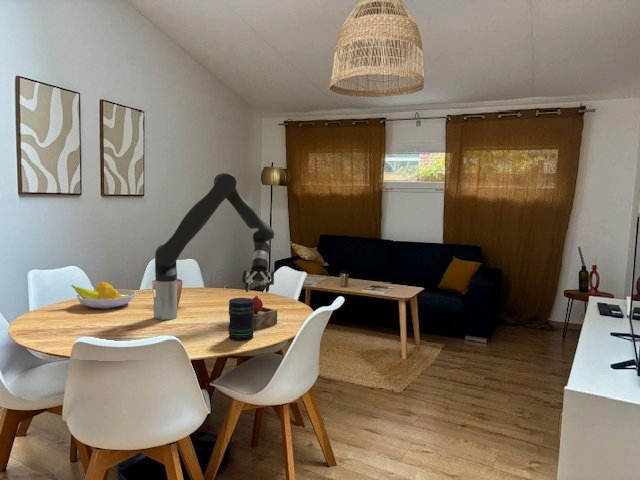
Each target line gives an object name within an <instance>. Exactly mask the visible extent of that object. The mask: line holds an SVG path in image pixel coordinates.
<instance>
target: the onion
mask: <svg viewBox="0 0 640 480" xmlns="http://www.w3.org/2000/svg"><path fill="white" fill-rule="evenodd" d="M252 299H253V300H254V313H258V312H259V311H260V310H261V309H262V307H264V306H263V305H264V304H263V301H262V300H261V299H260V298H259V296H258V295H255V296H254V298H252Z"/></svg>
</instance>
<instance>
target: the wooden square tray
mask: <svg viewBox="0 0 640 480" xmlns="http://www.w3.org/2000/svg"><path fill="white" fill-rule="evenodd" d="M253 324H254V327H253V328H254V331H255V330H256V331H257V330H260V329H264V328H266V327H270V326H273V325H277V324H278V309H274V308H270V307H265V306H263V307H262V309H261V310H260V311H259V312H258V313H254V314H253Z"/></svg>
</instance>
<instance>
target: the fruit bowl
mask: <svg viewBox="0 0 640 480" xmlns="http://www.w3.org/2000/svg"><path fill="white" fill-rule="evenodd" d="M71 287H72V288H73V289H74V291H75V292H76V293H77V295H76V297H77V299H78V301H79V304H82V305H84V306H87V307H89V308H93V309H103V310H110V309H113V308H119V307H123V306H125V305H126V304H128V303H130V302H133V300H134V298H135V296H136V295H137V292H136V291H134V290H133V289H125V288H124V289H123V288H114V286H113V285H112V284H110V283H109V282H107V281H101V282H99V283H98V284H97V285H96V286H95V288H94V290H90V289H87V288H84V287H79V286H75V285H74V284H72V285H71Z"/></svg>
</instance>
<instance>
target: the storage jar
mask: <svg viewBox="0 0 640 480" xmlns="http://www.w3.org/2000/svg"><path fill="white" fill-rule="evenodd" d="M253 314H254V300H253V298H249V297H235V298H231V299H229V301H228V315H229V322H228V323H229V324H228V339H229V340H231V341H234V342H247V341H250V340H253V339H254V332H255V329H254V328H253V327H254V324H253Z"/></svg>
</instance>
